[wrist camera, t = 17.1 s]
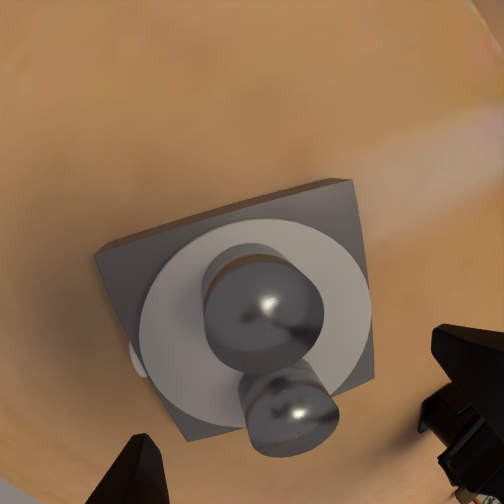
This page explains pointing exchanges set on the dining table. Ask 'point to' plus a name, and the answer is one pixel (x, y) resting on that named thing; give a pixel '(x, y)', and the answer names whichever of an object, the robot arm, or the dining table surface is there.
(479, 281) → the dining table surface
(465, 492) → the stone weight
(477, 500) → the baking soda box
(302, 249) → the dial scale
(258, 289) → the cylinder
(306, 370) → the cylinder
